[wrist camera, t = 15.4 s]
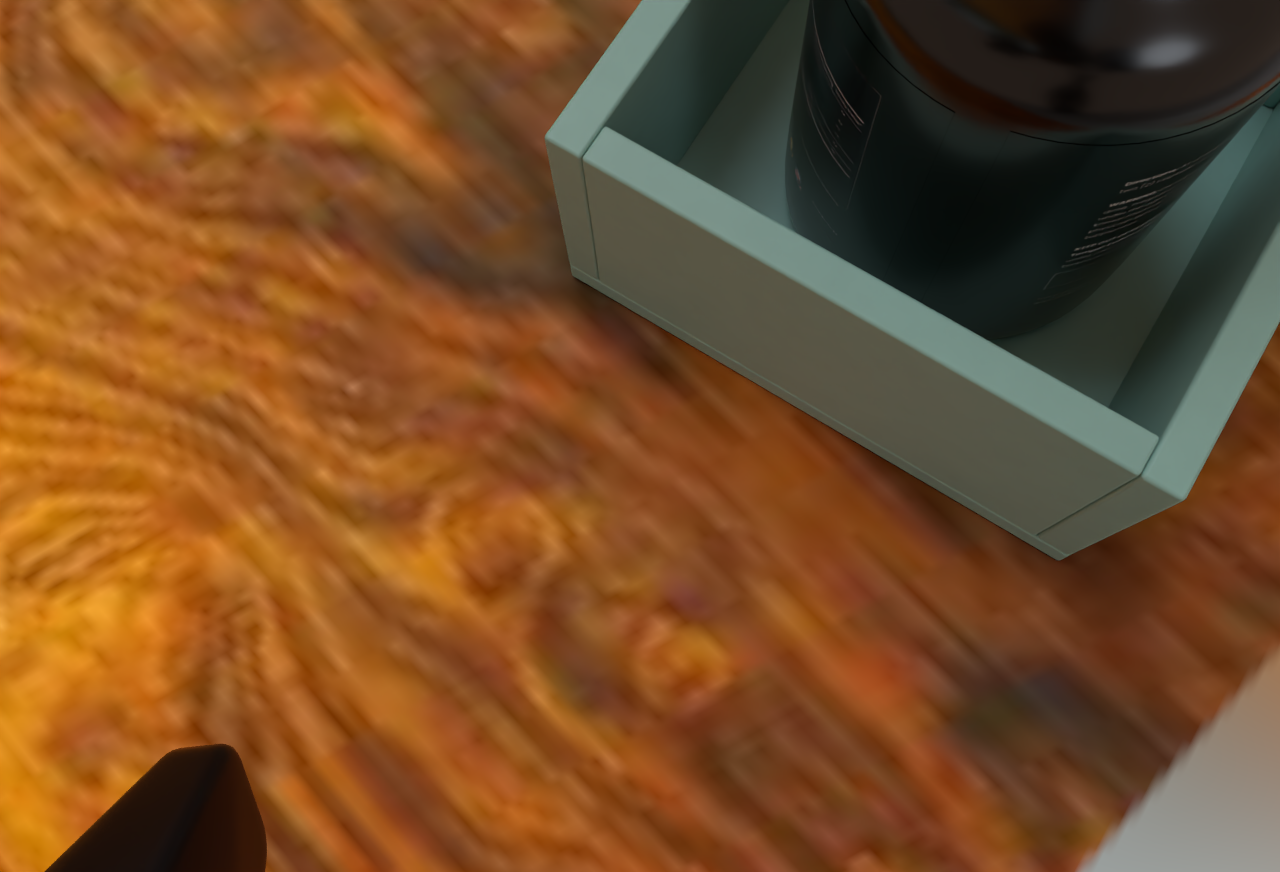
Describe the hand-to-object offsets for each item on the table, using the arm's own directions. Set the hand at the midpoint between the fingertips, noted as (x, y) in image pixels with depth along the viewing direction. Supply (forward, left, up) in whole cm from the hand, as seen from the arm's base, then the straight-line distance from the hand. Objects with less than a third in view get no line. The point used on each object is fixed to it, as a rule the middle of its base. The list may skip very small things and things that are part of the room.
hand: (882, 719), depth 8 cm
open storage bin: (+2, -11, -14) cm, 18 cm away
